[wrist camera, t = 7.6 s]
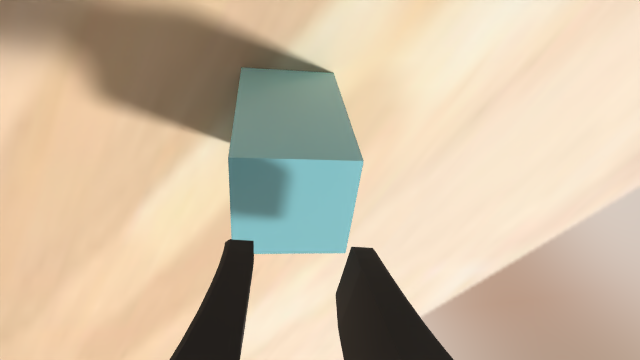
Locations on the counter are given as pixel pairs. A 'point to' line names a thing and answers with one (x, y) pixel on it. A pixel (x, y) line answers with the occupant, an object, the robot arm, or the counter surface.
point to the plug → (292, 163)
